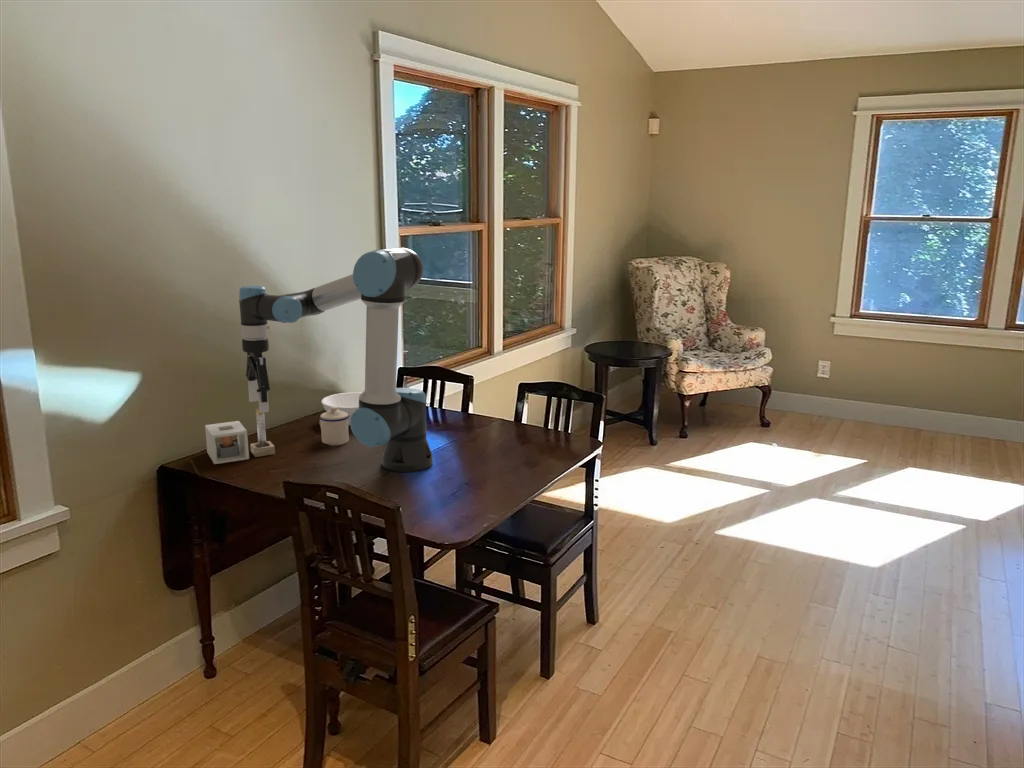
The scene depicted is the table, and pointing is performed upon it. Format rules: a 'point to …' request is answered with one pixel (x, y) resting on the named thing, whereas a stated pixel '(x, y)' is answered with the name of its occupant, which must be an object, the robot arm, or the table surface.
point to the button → (226, 441)
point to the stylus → (261, 429)
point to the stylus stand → (262, 449)
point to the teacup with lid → (334, 427)
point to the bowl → (343, 402)
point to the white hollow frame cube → (227, 453)
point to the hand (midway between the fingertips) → (258, 406)
